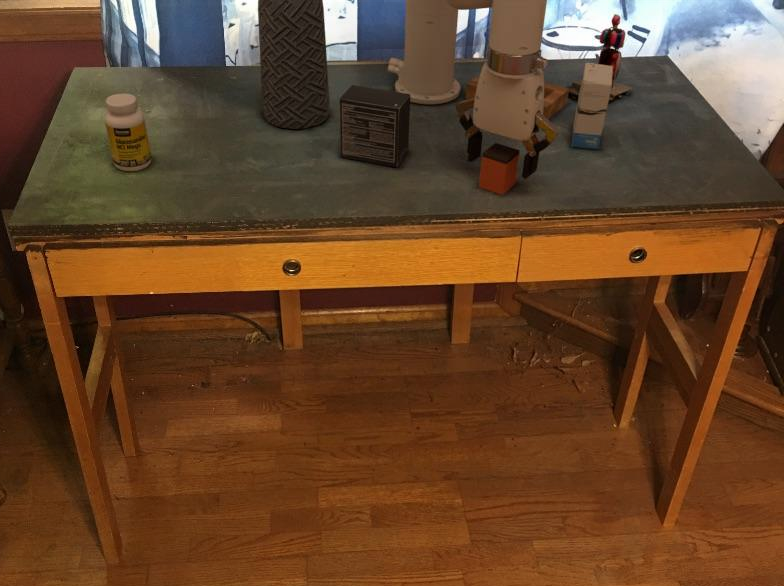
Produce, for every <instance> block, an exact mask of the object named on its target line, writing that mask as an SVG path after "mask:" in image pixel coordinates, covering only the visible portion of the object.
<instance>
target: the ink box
mask: <svg viewBox="0 0 784 586" xmlns="http://www.w3.org/2000/svg"><path fill="white" fill-rule="evenodd" d="M612 74H613V66H608V65H601V64H598V63H593V62H586V63H585V64H584V67H583V72H582V79H581V80H582V83H581V88H580V93H579V97H577V98H578V99H577V103H576V108H575V114H574V120H573V126H572V135H571V147H572V148H578V149H579V148H580V149H590V150H599V148H600V144H601V140H602V134H603V129H604V125H605V121H606V116H607V111H608V105H609V96H610V91H611V86H612Z"/></svg>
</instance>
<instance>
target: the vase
mask: <svg viewBox="0 0 784 586" xmlns="http://www.w3.org/2000/svg"><path fill="white" fill-rule="evenodd" d="M257 22H258V40H259V41H258V42H259V45H258V46H259V65H260V67H259V68H260V87H261V90H260V91H261V107H262V114H263V118H264V119H265V121H267V122H268V123H269V124H271V125H273V126H275V127H279V128H282V129H283V128H284V129H290V130H291V129H292V130H293V129H294V130H297V129H298V130H301V129H308V128H312V127H315V126H316V127H317V126H318V125H321V124H322V123H324V122H325V121H326V120H328V118H329V115H330V111H331V106H330V87H329V73H328V71H329V70H328V57H327V41H326V39H327V38H326V24H325V9H324V1H323V0H257Z"/></svg>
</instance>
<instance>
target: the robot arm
mask: <svg viewBox="0 0 784 586" xmlns="http://www.w3.org/2000/svg"><path fill="white" fill-rule="evenodd" d="M547 4H548V0H405V21H404V22H405V24H404V25H405V26H404V52H403V60H401V59H399V58H396V57H390V59H389V60H388V66H387V72H388V73H389V74H395V75H397V80H396V81H395V83H394V92H400V93H406V94H410V95H411V97H410V103H414V104H420V105H441V104H446V103H449V102H451V101H454V100H456V99H457V98H458V97H459V96H460V94H461V88H462V87H461V83H460V82H459V81H458V80H457V79H455V78H454V72H455V60H456V59H455V58H456V47H457V34H458V21H459V20H458V19H459V10H460V11H469V10H480V9H482V10H483V9H491V13H490V14H491V15H490V26H489V36H488V47H487V57H486V58H487V59H486V62H483V64H482V68H481V71H480V73H479V75H480V77H479V81H478V85H477V89H476V94H475V98H472V99H468V100H467V99H465V100H462V101H460V102H458V103H456V104H455V110H456V113H457V116H458V118H459V119H458V120H459V124H460V125H461V127H462V128H463V130H464V131H465V132H464V135H465V137H466V138H467V145H466V153H467V154H468V155H467V162H468V163H472V162H473V163H474V161H476V160H477V159H478V158H480V157H481V156H482V149H483V148H482V146H483V139H484V138H483V137H484V135H483V131H484V132H487V133H490V134H493V135H497V136H500V137H503V138H507V139H510V140H513V141H518V142H522V144H523V146H524V148H525V150H526V151H527V153H525V154H524V157H523V165H522V172H521V178H522V179H523V180H527V179H528V178H529V177H531V176H532V175H533V174H534V173H536V171H537V169H538V164H539V158H540V152H542V151H544V150H546V149H547V148H548V147H549V146H550V145H552V143H553V141H555V139H556V138H557V137H558V135H559V134H560V129H559V128H558V127H557V126H556V125H555V124H554V123H552V122H551V121H550V119H547V118H546V117H545V116H543V108H544V82H545V79H544V70H543V69H546V68H547V66H548V62H549V59H547V58H545V57H543V56H542V51H543V50H542V49H541V48H542V39H543V32H544V26H545V19H546V11H547ZM471 109H472V116H471V115H470V114H469V113H470V112H469V110H471ZM540 131H543V133H545V136H544V137H543V139H541V138H540V137H539V134H538V133H539V132H540Z"/></svg>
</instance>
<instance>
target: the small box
mask: <svg viewBox="0 0 784 586" xmlns="http://www.w3.org/2000/svg"><path fill="white" fill-rule="evenodd" d="M410 97H411V95H410V94H406V93H400V92H395V91H393V90H387V89H379V88H374V87H368V86H362V85H356V84H352V85H351V86H350V87H348V89H347V90H346V91H345V92H344V93H343V94H342V95H341V96H340V97H339V115H340V116H339V123H340V124H339V125H340V126H339V127H340V129H339V130H340V131H339V133H340V158H342V159H348V160H353V161H358V162H364V163H365V162H366V163H370V164H376V165H381V166H387V167H392V168H399V167H400V165H401V164H402V162H403V161H404V159H405V158H406V157H407V155H408V153H409V147H410V145H409V144H410V117H411V102H410Z"/></svg>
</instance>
